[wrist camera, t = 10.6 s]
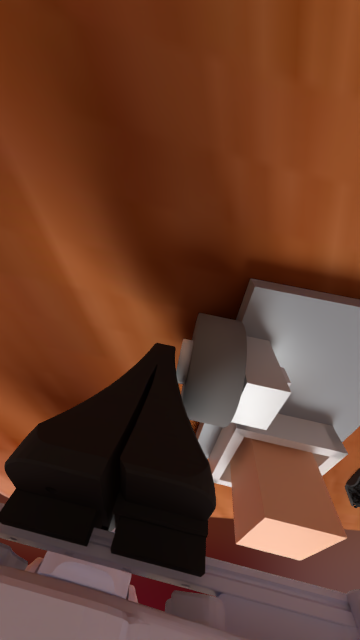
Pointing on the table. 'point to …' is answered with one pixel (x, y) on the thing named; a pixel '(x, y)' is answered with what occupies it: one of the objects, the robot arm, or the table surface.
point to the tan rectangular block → (281, 501)
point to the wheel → (213, 369)
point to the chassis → (293, 376)
